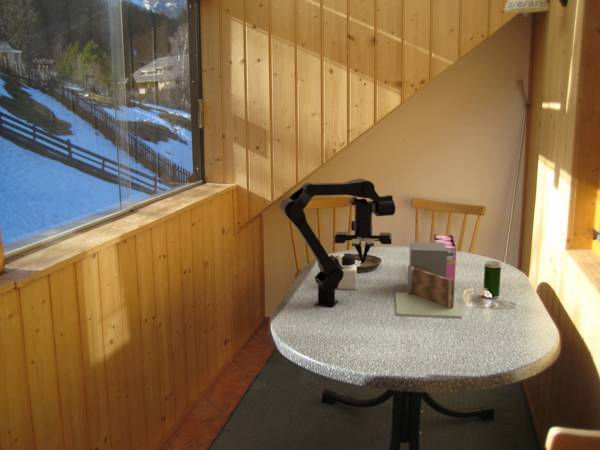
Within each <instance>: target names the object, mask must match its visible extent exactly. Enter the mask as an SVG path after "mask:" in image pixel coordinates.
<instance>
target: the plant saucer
mask: <svg viewBox="0 0 600 450" xmlns="http://www.w3.org/2000/svg"><path fill="white" fill-rule="evenodd" d="M352 254H353V255H354V256H355V260H358V261H361V260H360V257H359V254H358V253H352ZM363 255H364V253H363ZM338 256H339V255H337V256H334V257H335V258H337V259H338ZM381 263H382V258H380V257H378V256H375V255H370V254H367V256H366V259H365V262H364V263H360V264H361V265H360V266H358V267H357V273H367V272H371V271H373V270H375V269H377V268H378V267H379V266H380V264H381ZM366 271H367V272H366Z"/></svg>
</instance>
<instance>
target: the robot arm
mask: <svg viewBox="0 0 600 450" xmlns="http://www.w3.org/2000/svg"><path fill="white" fill-rule="evenodd" d="M315 196H351V197H352V198H351V199H350V200H349V201H348V204H349V205H351V206H354V220H351V221H350V222H351V223H350V226H351V227H350V230H351V231H352V232H354V234H348V232H347V231H337V232H336V233H335V234H334V243H335V244H345V243H346V242H347V241H351V246H352V247H355V250H356V252H357V254H359V257H360V260H361V263H364V262H365V259H366V256H367V255H368V253H369V251H370V249H371V247H375V242H379V243H380V244H381V245H392V239H393V237H392V233H391V232H379V235H377V234H373V214H374V216H376V217H389V216H394V215H395V213H396V205H395V201H394V199H393V198H394V197H393V195H391V194H386V195H379V194H378V192H377V191H376V188H375V185H374V183H373V182H372V181H370V180H367V179H365V178H357V179H351V180H348V181H344V182H305V183H303V185H302V186H300V188H298V189H297V190H296V191H294V192H293V193H292V194H291V195H289V196H288V198H285V199H283V200H282V201H281V203H280V205H279V210H280V212H281V214H282V215H283V216H284V217H285V218H286V219H287V220H288V221H289V222H290V223H291V224H292V226H294V227H295V228H296V230H297V231H298V233H299V235H300V236H301V237H302V239H303V241H304V242H305V244H306V245H307V247H308V248H309V250H310V251H311V253H312V254H313V256H314V257H315V259H316V261H317V265H318V268H319V270H320V271H319V272H318V273H317V274H316V275H315V276H314V281H315V283H316V284H318V285H317V301H316V302H314V304H315V305H314V304H313V305H314V306H318V305H323V306H322V307H326V306H328V307H327V308H333V307H335V305H336V304H338V303H339V300H338V299H336V290H338V289H337V288H338V285H339V282H340V281H341V280H342V278H343V275H344V273H343V270H342V269H344V268H343V267H341V265H340V264H339V261H338V259H337V258H335V257H336V256H334V255H333V254H330V255H329V254H328V253H327V251H326V250H325V248H324V246H323V245H322V244H321V241H320V240H319V238H318V237H317V236H316V234H315V233H314V230H313V229H312V228H311V226H310V224H309V223H308V220H307V217H306V213H305V211H304V209H305V208H306V207H307V206H308V205H309V203H310V202H311V200H312V198H314V197H315ZM367 199H368V200H367ZM362 241H363V242H364V241H365V243H364V249H363V247H362ZM363 254H364V255H363Z"/></svg>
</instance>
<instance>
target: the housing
mask: <svg viewBox="0 0 600 450" xmlns="http://www.w3.org/2000/svg"><path fill="white" fill-rule="evenodd" d="M446 265H447V249H446V247H445V244H444V243H433V242H428V241H427V242H424V241H423V242H422V241H421V242H420V241H418V242H416V241H410V242H409V264H408V267H407V288H406V289H407V292H396V291H395V311H396V316H398V317H425V318H426V317H427V318H452V319H461V318H463V317H462V313H461V309H460V308H459V304H458V301H457V299H456V295H455V294H454V307H453V308H448V307H446V306H443V305H441V304H438V303H435V302H433V301H430V300H428V299H425V298H422V297H420V296H417V295H414V294H413V271H414V268H417V269H420V270H424V271H427V272H430V273H433V274H436V275H439V276H442V277H445V278H446Z"/></svg>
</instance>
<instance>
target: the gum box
mask: <svg viewBox="0 0 600 450" xmlns="http://www.w3.org/2000/svg"><path fill="white" fill-rule="evenodd" d="M432 243H444V244H445V247H446V249H447V265H446V278H448V279H451V280H454V281H455V282H456V269H457V268H456V264H457V263H456V262H457V246H456V244H455V239H454V236H453V235H452V234H448V236H446V235H438V234H433V241H432Z"/></svg>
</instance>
